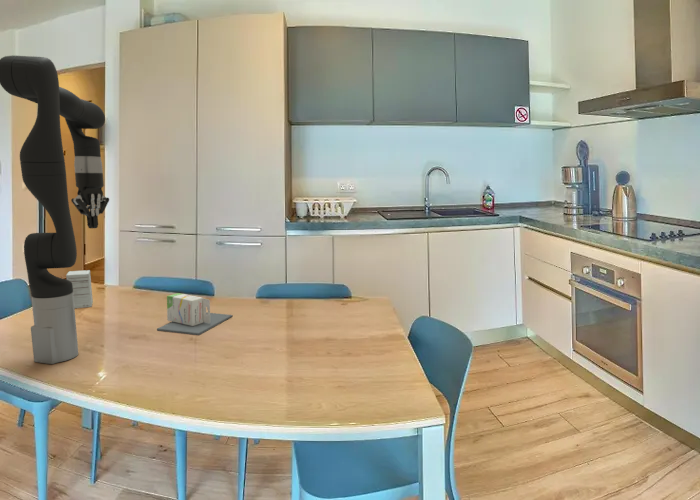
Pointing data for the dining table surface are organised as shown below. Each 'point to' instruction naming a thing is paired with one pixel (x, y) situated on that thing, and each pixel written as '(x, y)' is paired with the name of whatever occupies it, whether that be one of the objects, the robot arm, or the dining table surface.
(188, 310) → the ink box
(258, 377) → the dining table surface
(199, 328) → the mat
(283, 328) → the dining table surface
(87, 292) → the supplement box
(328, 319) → the dining table surface
